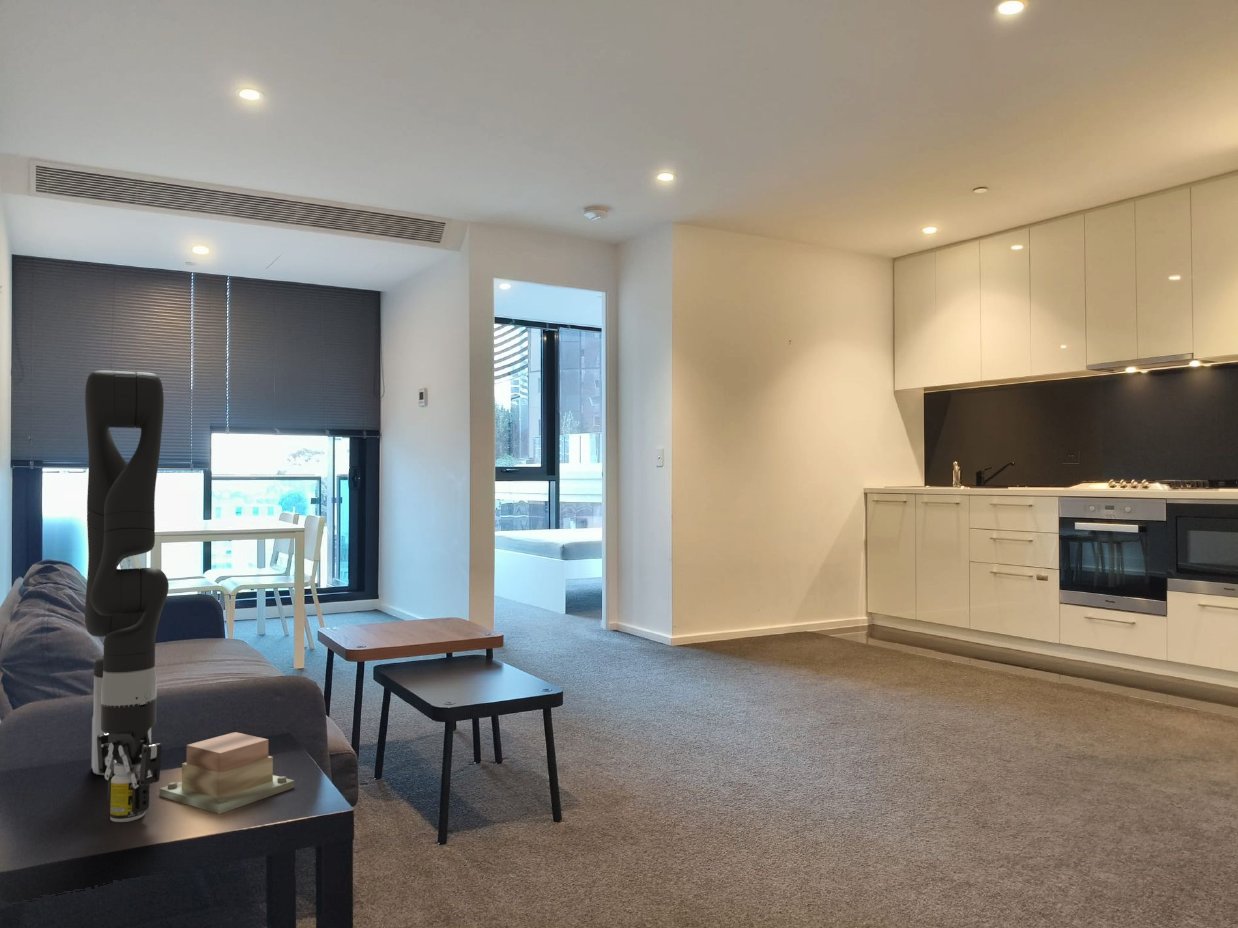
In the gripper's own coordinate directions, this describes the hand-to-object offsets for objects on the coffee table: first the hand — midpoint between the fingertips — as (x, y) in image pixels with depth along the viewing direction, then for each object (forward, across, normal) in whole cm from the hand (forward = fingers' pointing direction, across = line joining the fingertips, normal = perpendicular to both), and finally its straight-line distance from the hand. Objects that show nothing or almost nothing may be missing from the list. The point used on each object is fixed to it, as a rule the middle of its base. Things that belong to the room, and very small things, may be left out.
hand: (128, 806), depth 136 cm
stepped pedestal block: (+2, +3, +15) cm, 15 cm away
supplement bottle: (+2, 0, 0) cm, 2 cm away
